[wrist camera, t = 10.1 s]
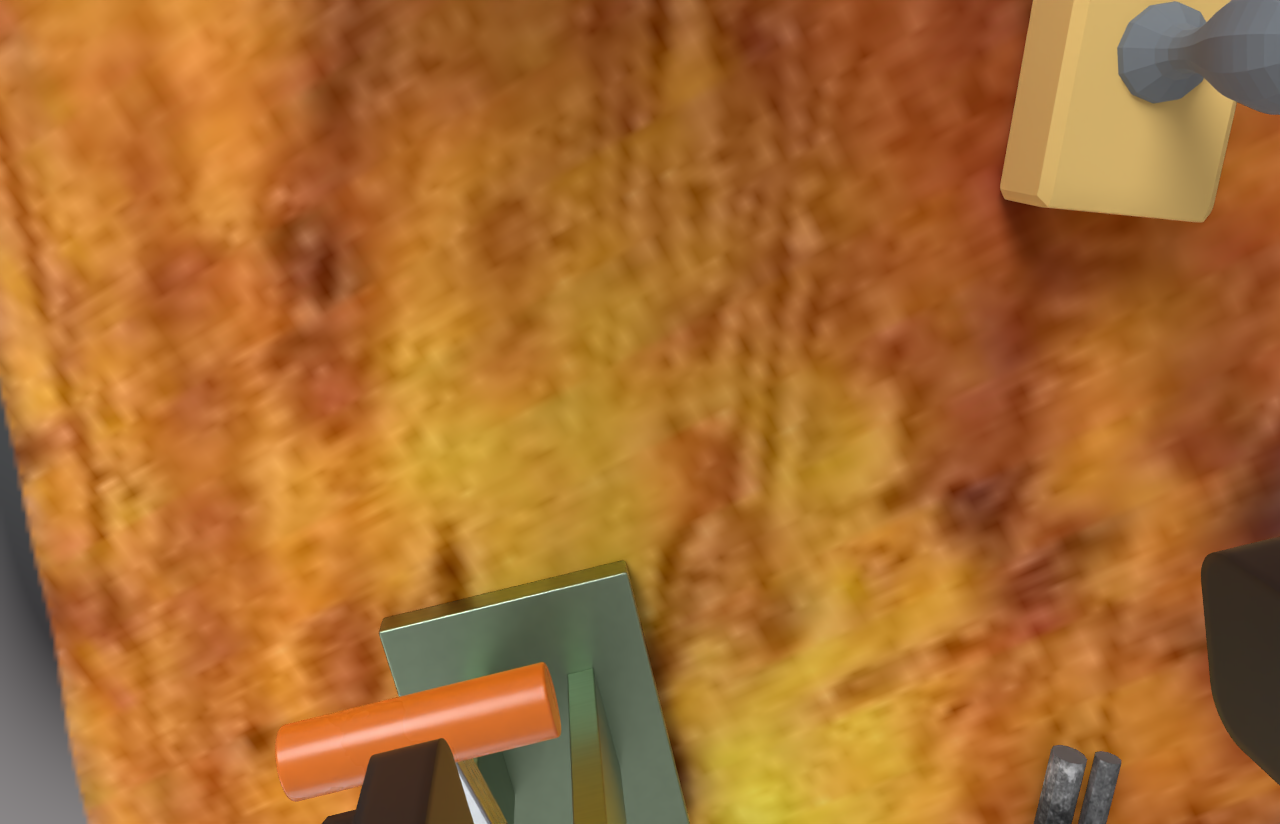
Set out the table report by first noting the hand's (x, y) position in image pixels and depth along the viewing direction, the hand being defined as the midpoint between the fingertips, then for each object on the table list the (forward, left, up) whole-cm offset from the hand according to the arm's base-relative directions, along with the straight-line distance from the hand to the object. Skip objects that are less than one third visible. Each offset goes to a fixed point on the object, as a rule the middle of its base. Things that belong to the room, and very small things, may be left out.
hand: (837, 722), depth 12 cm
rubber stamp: (-4, +17, -28) cm, 33 cm away
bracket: (+15, -7, -28) cm, 33 cm away
